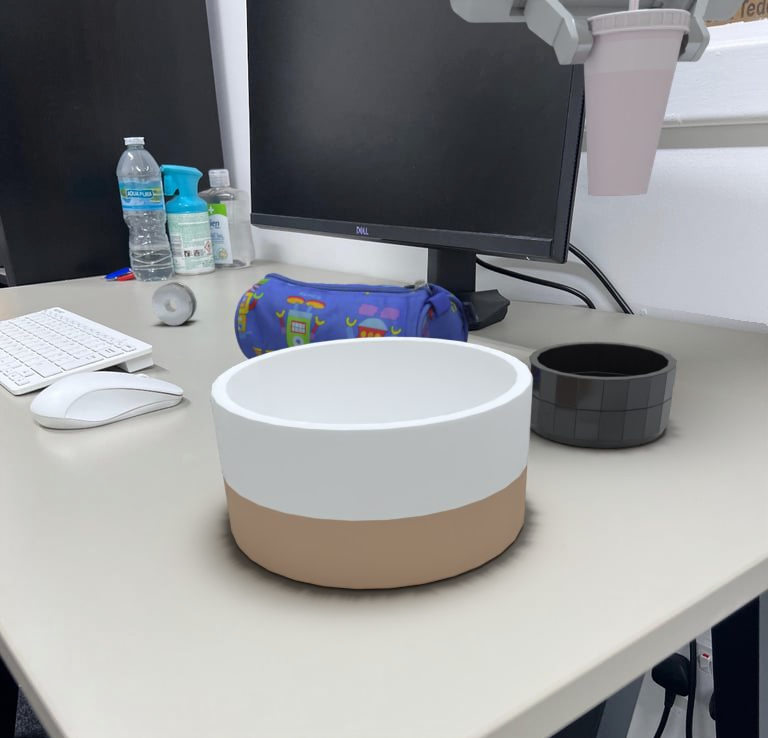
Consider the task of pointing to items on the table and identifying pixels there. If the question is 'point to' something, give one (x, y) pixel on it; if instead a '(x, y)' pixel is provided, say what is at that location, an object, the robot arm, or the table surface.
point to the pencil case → (344, 313)
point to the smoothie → (628, 94)
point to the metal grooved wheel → (182, 299)
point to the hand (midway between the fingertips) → (637, 53)
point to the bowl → (374, 458)
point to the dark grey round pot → (601, 393)
